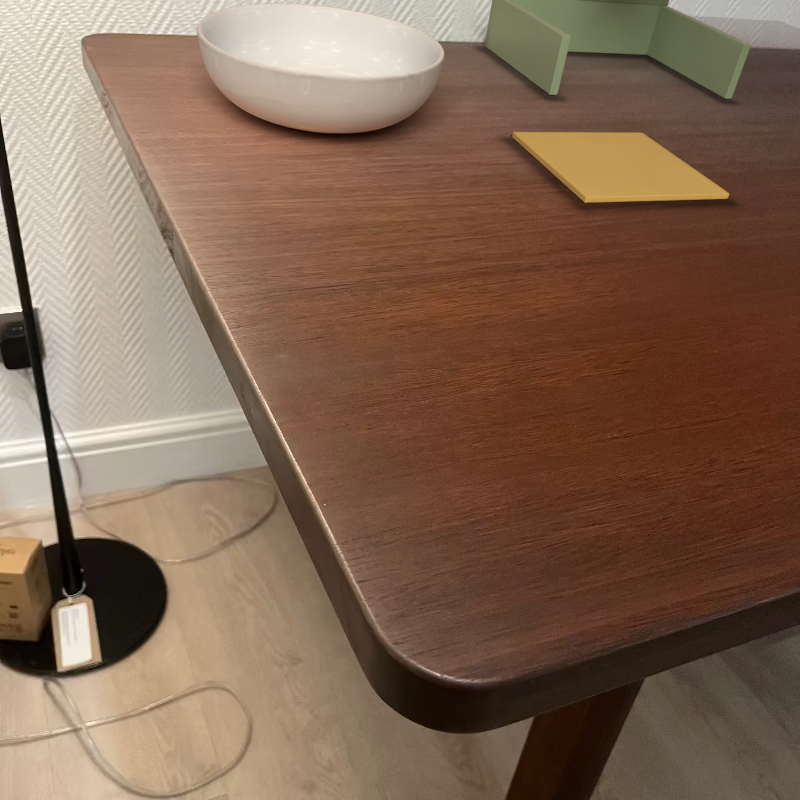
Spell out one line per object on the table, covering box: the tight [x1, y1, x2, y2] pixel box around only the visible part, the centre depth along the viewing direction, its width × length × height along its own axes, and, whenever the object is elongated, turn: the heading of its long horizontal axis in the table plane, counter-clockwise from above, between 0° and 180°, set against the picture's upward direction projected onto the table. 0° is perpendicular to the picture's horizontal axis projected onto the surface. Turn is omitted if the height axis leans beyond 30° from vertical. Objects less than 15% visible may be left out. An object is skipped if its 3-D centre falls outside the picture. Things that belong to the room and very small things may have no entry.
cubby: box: [483, 0, 752, 100], centre depth 95 cm, size 24×18×7 cm
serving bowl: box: [196, 2, 445, 134], centre depth 71 cm, size 21×21×7 cm
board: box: [511, 131, 730, 204], centre depth 71 cm, size 14×14×1 cm
